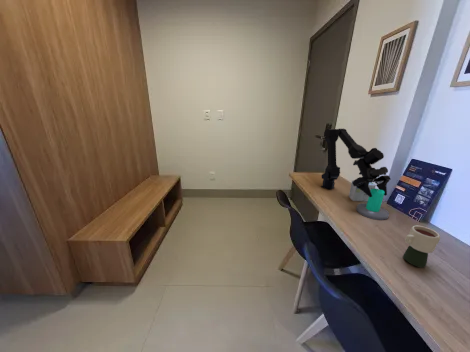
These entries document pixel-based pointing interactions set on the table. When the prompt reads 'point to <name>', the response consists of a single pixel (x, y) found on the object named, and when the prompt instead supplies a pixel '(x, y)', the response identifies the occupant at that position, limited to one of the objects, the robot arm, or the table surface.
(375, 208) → the candle
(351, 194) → the light bulb box
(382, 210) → the charcoal plinth
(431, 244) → the character mug
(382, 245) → the table surface
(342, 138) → the robot arm
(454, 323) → the table surface
